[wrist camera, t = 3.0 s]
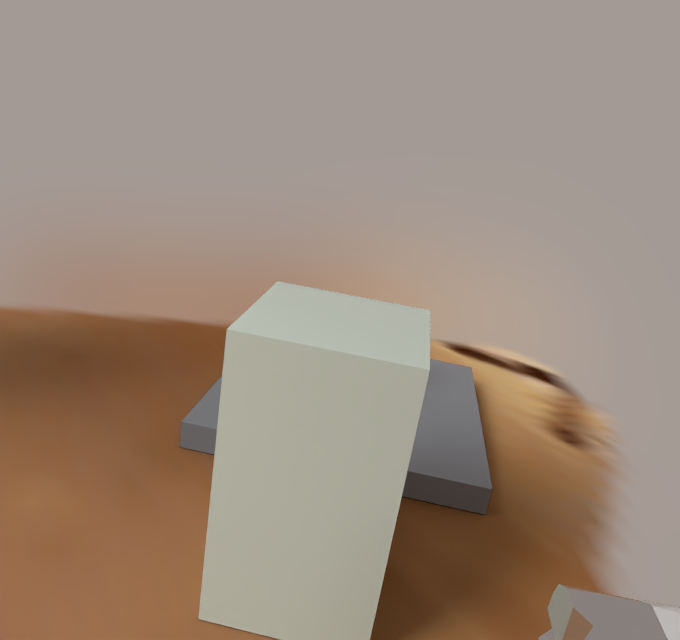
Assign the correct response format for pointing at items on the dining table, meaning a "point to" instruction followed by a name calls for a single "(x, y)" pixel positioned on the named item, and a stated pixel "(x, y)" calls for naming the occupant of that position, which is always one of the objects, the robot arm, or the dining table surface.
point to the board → (429, 444)
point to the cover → (311, 461)
